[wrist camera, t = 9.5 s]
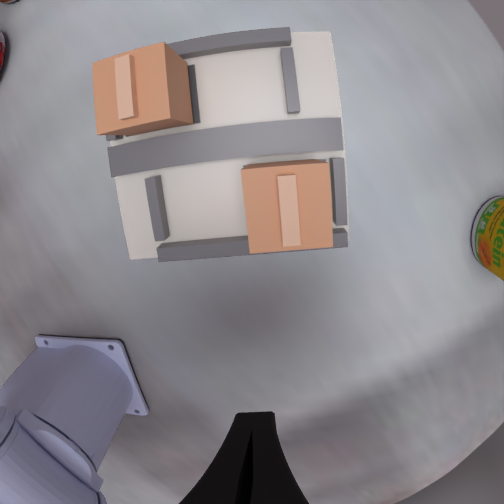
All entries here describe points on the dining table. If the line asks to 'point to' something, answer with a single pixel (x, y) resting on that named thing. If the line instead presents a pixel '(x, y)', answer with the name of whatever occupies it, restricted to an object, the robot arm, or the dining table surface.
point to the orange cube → (287, 205)
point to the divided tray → (231, 143)
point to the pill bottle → (7, 1)
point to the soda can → (2, 49)
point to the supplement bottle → (490, 236)
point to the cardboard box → (141, 91)
